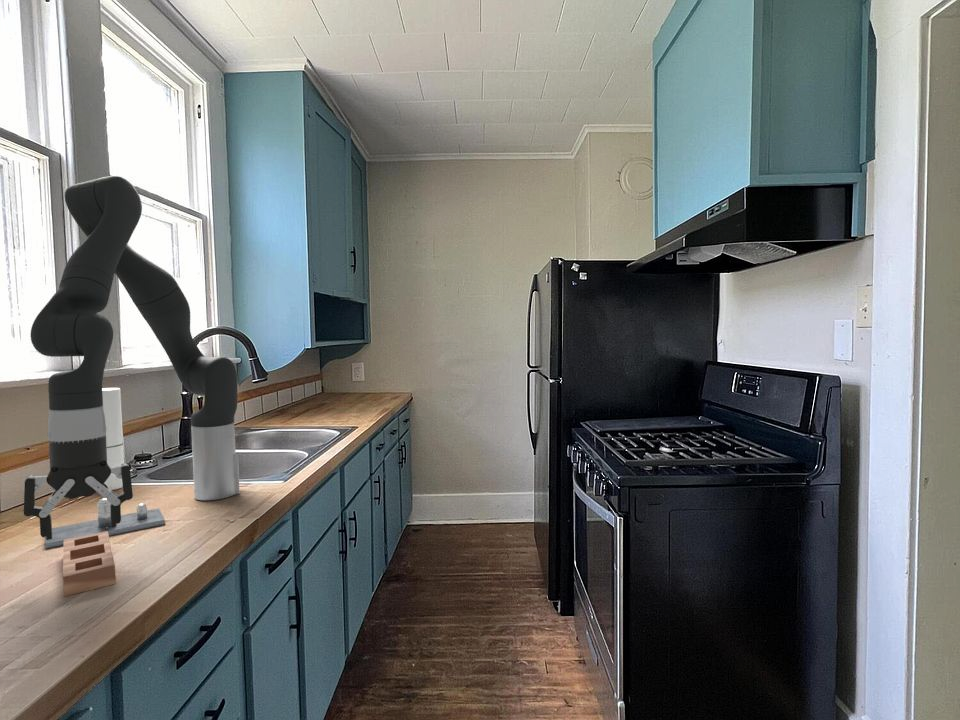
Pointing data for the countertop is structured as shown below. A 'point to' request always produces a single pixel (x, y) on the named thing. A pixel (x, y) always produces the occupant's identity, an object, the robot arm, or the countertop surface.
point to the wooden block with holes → (87, 563)
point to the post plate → (92, 525)
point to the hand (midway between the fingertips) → (82, 532)
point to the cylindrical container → (113, 433)
